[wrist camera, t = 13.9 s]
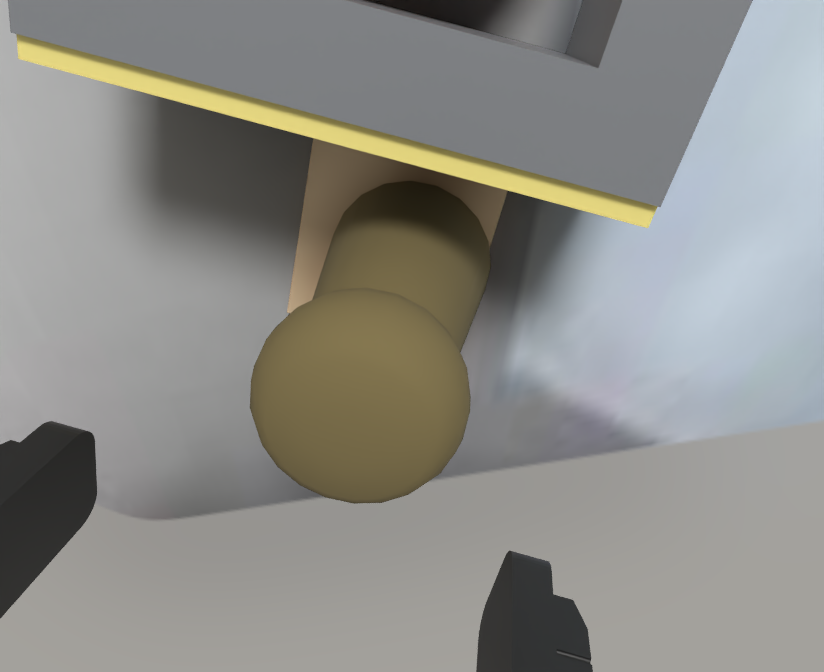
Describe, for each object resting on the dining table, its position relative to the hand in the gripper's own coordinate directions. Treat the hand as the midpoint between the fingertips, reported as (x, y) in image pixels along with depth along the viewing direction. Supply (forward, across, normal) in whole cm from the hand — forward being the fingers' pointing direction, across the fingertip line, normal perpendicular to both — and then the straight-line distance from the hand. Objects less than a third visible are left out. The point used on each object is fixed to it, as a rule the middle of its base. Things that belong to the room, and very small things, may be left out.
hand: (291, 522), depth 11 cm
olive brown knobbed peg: (+13, 0, -1) cm, 13 cm away
